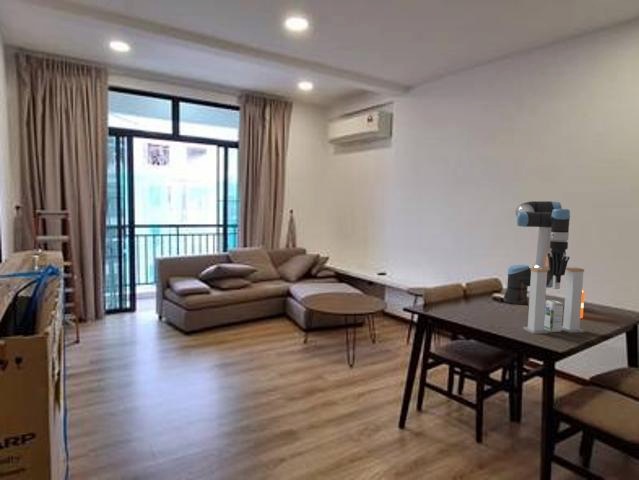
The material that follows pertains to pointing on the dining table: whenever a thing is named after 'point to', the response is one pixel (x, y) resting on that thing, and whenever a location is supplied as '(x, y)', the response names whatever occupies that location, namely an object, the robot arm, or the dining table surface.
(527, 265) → the robot arm
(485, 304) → the dining table surface
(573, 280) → the post
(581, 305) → the orange juice
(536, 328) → the post
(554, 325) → the syrup box
